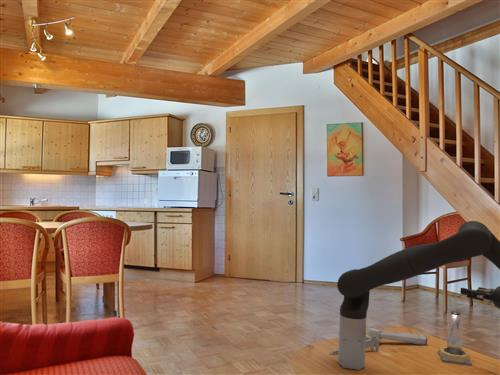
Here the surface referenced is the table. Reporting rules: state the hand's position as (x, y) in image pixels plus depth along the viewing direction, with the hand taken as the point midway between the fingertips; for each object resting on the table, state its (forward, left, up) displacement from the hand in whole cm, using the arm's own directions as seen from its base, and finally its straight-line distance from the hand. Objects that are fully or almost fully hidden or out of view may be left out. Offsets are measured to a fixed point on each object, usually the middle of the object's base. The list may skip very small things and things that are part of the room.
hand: (470, 290), depth 147 cm
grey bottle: (+6, +3, -27) cm, 28 cm away
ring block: (+6, +3, -27) cm, 28 cm away
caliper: (-1, +39, -28) cm, 48 cm away
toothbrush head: (+15, +23, -28) cm, 40 cm away
